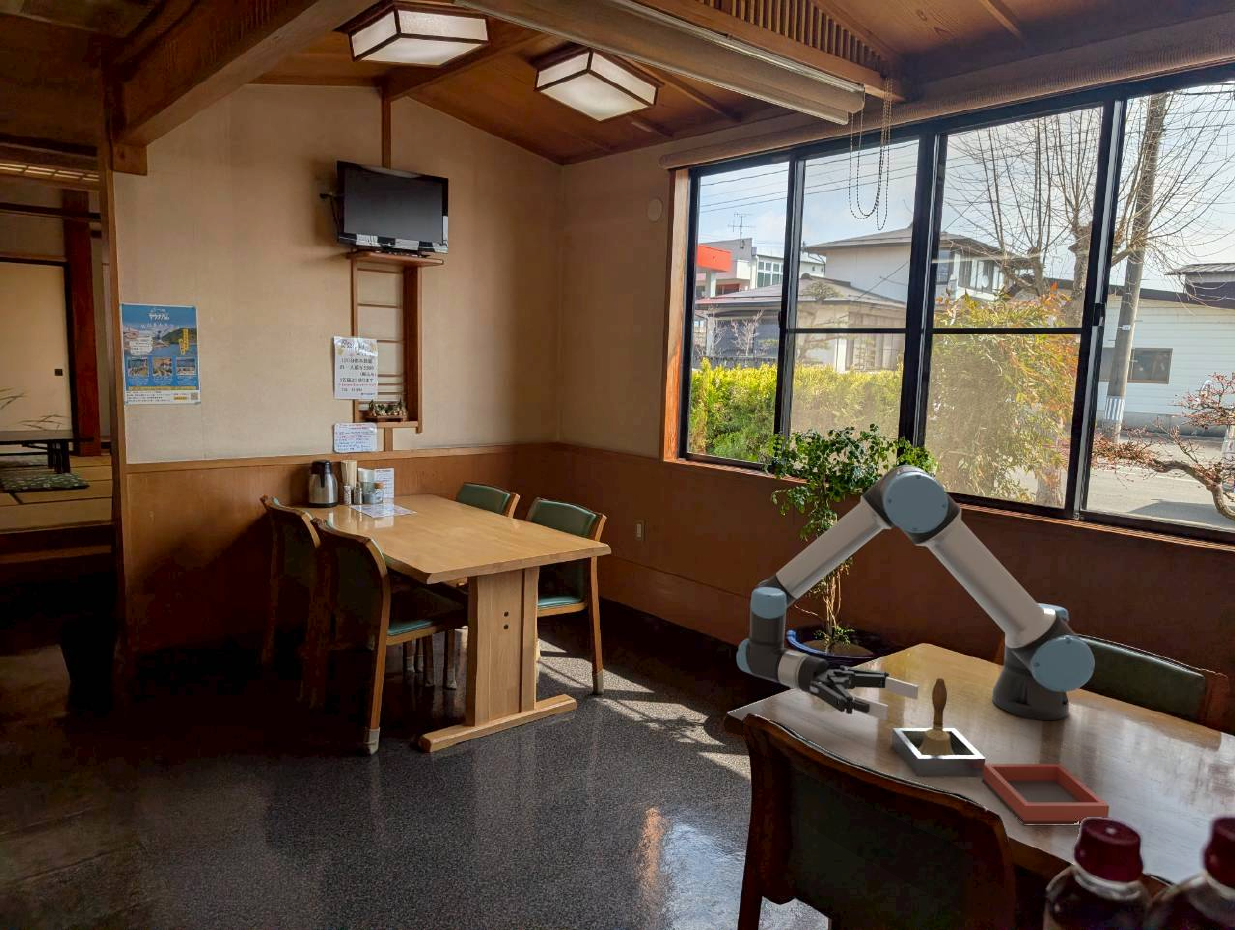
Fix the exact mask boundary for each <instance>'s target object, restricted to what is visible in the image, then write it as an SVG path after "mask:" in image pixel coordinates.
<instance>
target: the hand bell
mask: <svg viewBox="0 0 1235 930" xmlns="http://www.w3.org/2000/svg"><path fill="white" fill-rule="evenodd" d="M931 700H932V707H933V722H932V724H933V725H932V728H933V729H928V730H927V731H926V732H925V736H924V740H923V743H922V745H921V747H920V748H916V749H917V750H918V751H919V752H920V753H921V755H955V753H954V752H953V751H952V748H951V742H950V735H949V734H948V733H947V732H945V731H943V728H944V726H943V725H944V723H943V722H944V710H945V708H946V705H947V700H948V691H947V686H946V684H945V679H943V678H941V677H937V678H936V681H935V684H934V685H933V688H932V694H931Z"/></svg>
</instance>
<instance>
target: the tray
mask: <svg viewBox="0 0 1235 930" xmlns="http://www.w3.org/2000/svg"><path fill="white" fill-rule="evenodd" d="M981 778H982V780H981V781H982V783H983V785H984V786H986V788H988V790H989V791H991V792H992V794H993V795H994V796H995V797H996V798H997V799H998V800H999V801H1000V802H1001V803H1002V804H1003V805H1004V807H1006V809H1008V811H1010V813H1011V814H1012V815H1013V816H1014V815H1015V816H1014V817H1015V818H1016V817H1017V818H1018V819H1017V818H1016V819H1017V820H1018V821H1019V820H1020V821H1021V822H1022V823H1023V824H1074V823H1077V822H1078V821H1079V824H1080V823H1081V821H1082V820H1083V819H1084V818H1087V817H1102V818H1108V819H1109V812H1110V811H1109V810H1110V805H1109V804H1108V803H1107V802H1105V801H1104V800H1103V799H1102V798H1101V797H1100V796H1098V795H1097V794H1096V793H1095V792H1094V791H1092V789H1090V788H1089V787H1088V786H1087V785H1085V784H1084V783H1083V782H1082V781H1081V780H1079V779H1078V778H1077V777H1076V776H1074V775H1073V774H1072V773H1071V772H1070V771H1069V770H1067V768H1065V767H1064V766H1062V765H1061V764H1060V763H985V764H984V767H983V777H981ZM1020 821H1019V822H1020ZM1021 822H1020V823H1021ZM1022 823H1021V824H1022ZM1023 824H1022V825H1023Z"/></svg>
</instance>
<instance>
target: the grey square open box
mask: <svg viewBox="0 0 1235 930" xmlns="http://www.w3.org/2000/svg"><path fill="white" fill-rule="evenodd" d="M928 729H933V727H928V728H927V727H925V728H924V727H918V728H917V727H910V728H909V727H892V730H891V746H892V748H893V749H894V750H895V752H896V753H897V754H898V755H899V757H900V758H901V759H902V760H903V762H905V765H907V767H908V768H909V769H910V770H911V772H913V774H914V775H915V776H916V777H917V778H922V777H923V778H925V777H927V778H929V777H930V778H937V777H938V778H940V777H941V778H942V777H943V778H946V777H947V778H948V777H949V778H951V777H952V778H959V777H960V778H965V777H966V778H968V777H969V778H970V777H971V778H976V777H977V778H978V777H979V778H983V767H984V764H986V758H985V757H984V756H983V754H981V753H980V751H978V750H977V748H975V747H974V745H972V744H971V743H970V742H969V741H968V740H967V739H966V738H965V737H964V736H963V735H962V734H961V733H960V732H959V731H958V730H957V729H956V728H953V727H952V728H950V727H949V728H948V727H946V728H944V727H943V731H945V732H947V733H948V734H949V735H950V742H951V748H952V751H953V754H954V755H921V753H920V752H919V751H918V750H917V749H919V748H920V747H921V745H922V743H923V740H924V736H925V732H926V731H927V730H928Z"/></svg>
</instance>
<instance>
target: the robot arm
mask: <svg viewBox="0 0 1235 930" xmlns="http://www.w3.org/2000/svg"><path fill="white" fill-rule="evenodd" d="M944 489H945V488H944V487H943V485H942V484H941V483H940V482H939V480H937V479H936V478H935V477H933V475H931V474H929V473H928V472H927V471H925V469H922V468H920V467H918V466H915V465H909V464H908V465H906V464H904V465H899V466H896V467H893V468H891V469H890V470H888V471H887V472H886V473H885V474H883V475H882V476H881V477H880V478H879V479H878V480H877V481H876V482H875V483H874V484H873V485H872V486H871V487H870V488H868V490H866V491H865V492H864V493H862V495H861V496H860V502H859V503H858V504H857V505H856V506H855V507H853V508H852V509H851V510H850V511H849V512H848V513H846V514H845V515H844V516H843V517H841V518H840V519H839V520H838V521H836V523H834V524H833V525H832V526H831V527H830V528H828V529H827V530H826V531H824V533H823V534H821V535H820V536H819V537H817V538H816V539H815V540H814V541H813V542H812V543H810V544H809V545H808V546H807V547H806V548H805V549H803V550H802V551H801V552H799V553H798V554H797V555H796V556H795V557H794V558H792V559H791V560H790V561H788V563H787V564H785V565H784V566H783V567H782V568H780V569H779V570H778V571H777V572H775V574H774V575H772V576H771V577H770V578H768V579H764V580H763V581H761V582H759V583H758V584H757V586H756V587H755V588H754V590H753V591H752V593H751V599H750V603H749V605H750V607H749V608H750V613H749V614H750V618H749V637H748V638H745V639H744V640H742V641H741V642H740V644H739V646H738V651H737V652H736V663H737V666H738V668H739V669H740V670H741V671H742V672H745V673H747V674H750V675H753V676H754V677H755V678H756V677H757V678H761V679H765V680H768V681H772V682H773V683H778V684H781V685H784V686H786V687H789V688H790V689H791V690H794V689H796V690H801V691H802V692H805V693H807V694H810V695H811V696H813V697H817V698H819V699H820V700H821V701H823V702H825V703H827V704H828V705H829V706H831V707H832V708H833V709H835V710H837V711H838V712H840V713H844V712H845V713H846V714H848V715H852V714H853V710H854V711H856V712H858V713H862V714H865V715H868V716H871V717H873V718H876V719H881V720H883V721H887V720H888V718H889V709H890V707H889V705H888V704H885V703H882V702H878V701H877V700H876V701H875V700H872V699H869V698H865V697H864V696H863V697H862V696H859V695H855V696H854V697H853V696H852V694H851V693H850V692H848V690H854V689H855V688H870V689H871V688H872V689H884V691H885V692H889V693H892V694H895V695H899V696H903V697H906V698H909V699H912V700H915V701H916V700H918V698H919V696H918V694H919V685H917V684H915V683H910V682H906V681H904V680H900V679H896V678H893V677H890V672H889V671H882V670H874V669H873V670H872V669H866V668H859V667H851V666H847V665H840V667H839V669H837V668H836V669H831V666H830V664H829V662H828V661H827V660H826V659H825V658H820V657H817V656H814V655H809V654H807V653H804V652H800V651H798V650H793V649H789V648H786V647H785V631H786V630H785V629H786V616H787V614H786V613H787V610H788V609H787V608H788V607H789V606H790V607H791V605H792V604H793V603H794V602H795V601H797V600H798V599H799V598H800V597H802V596H803V595H804V594H805V593H806V592H808V591H809V590H811V588H812V587H813V586H815V585H816V584H817V583H819V582H820V581H821V580H823V578H825V577H826V576H827V575H828V574H830V573H831V572H832V571H833V570H835V569H836V568H837V567H839V566H840V565H841V564H842V563H843V562H844V561H846V560H847V559H848V558H849V557H850V556H851V555H853V554H854V553H856V552H857V551H858V550H859V549H860V548H862V547H863V546H864V545H865V544H867V543H868V542H869V541H870V540H871V539H872V538H874V537H875V536H876V535H878V533H880V532H881V531H882V530H884V529H885V530H891V529H893V527H895V526H897V527H898V528H899V529H900V530H902V532H903V533H904V534H905V536H907V537H908V539H909V540H910V541H911V542H912V543H913V544H914V545H915V546H917V547H919V546H921V547H927V548H928V549H929V550H930V552H931V553H932V554H933V555H934V556H935V558H937V559H938V561H939V562H940V563H941V564H942V565H943V566H944V567H945V568H946V569H947V571H948V572H950V574H951V575H952V576H953V577H954V578H955V579H956V580H957V582H958V583H960V585H961V586H962V587H963V588H964V589H965V590H966V591H967V593H968V594H969V595H970V596H971V597H972V598H973V599H974V600H975V601H976V602H977V604H978V605H979V606H980V607H981V608H982V609H983V610H984V611H985V612H986V614H987V615H988V616H989V617H990V618H991V619H992V621H994V622H995V624H997V625H998V627H999V628H1000V629H1001V630H1002V631H1003V632H1004V634H1005V636H1004V637H1005V638H1004V643H1005V645H1004V660H1003V666H1002V670H1001V672H1000V674H999V676H998V677H997V679H996V683H995V685H994V687H993V688H992V694H991V695H992V696H991V700H992V702H993V704H994V705H996V706H997V707H998V708H1000V709H1001V710H1003V711H1005V712H1007V713H1010V714H1013V715H1015V716H1016V715H1017V716H1019V717H1023V718H1027V719H1034V720H1040V721H1041V720H1043V721H1056V720H1062V719H1064V718H1067V717H1068V715H1069V708H1070V701H1069V697H1068V695H1067V693H1069V692H1072V691H1076V690H1077V689H1080V688H1081V687H1083V686H1085V684H1087V683H1088V681H1089V680H1091V678H1092V676H1093V673H1094V670H1095V665H1096V661H1095V657H1094V654H1093V652H1092V649H1091V647H1090V646H1089V645H1088V643H1086V641H1084V640H1083V639H1081V638H1080V637H1079V636H1078V635H1077V634H1076V633H1075V631H1074V630H1072V628H1071V627H1070V626H1069V621H1070V618H1069V611H1068V610H1067V609H1066V608H1064V607H1062V606H1059V605H1054V604H1048V603H1047V604H1046V603H1039V602H1037V601H1036V600H1034V598H1033V597H1032V596H1031V595H1030V594H1029V592H1028V591H1026V589H1025V588H1024V587H1023V586H1022V585H1021V584H1020V583H1019V582H1018V580H1017V579H1015V577H1013V575H1012V574H1011V573H1010V572H1009V571H1008V570H1007V569H1006V568H1005V567H1004V565H1002V564H1001V562H1000V561H999V560H998V559H997V558H996V557H995V555H993V553H992V552H991V551H990V550H989V549H988V548H987V547H986V545H984V543H982V541H981V540H980V539H979V538H978V537H977V535H976V534H974V533H973V532H972V530H971V529H970V528H969V527H968V526H967V525H966V524H965V523H964V521H962V518H961V517H962V508H961V507H960V505H958V504H957V503H956V501H954V499H953V498H952V497H951V496H950V495H949V493H948V492H947V491H946V490H944Z"/></svg>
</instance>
